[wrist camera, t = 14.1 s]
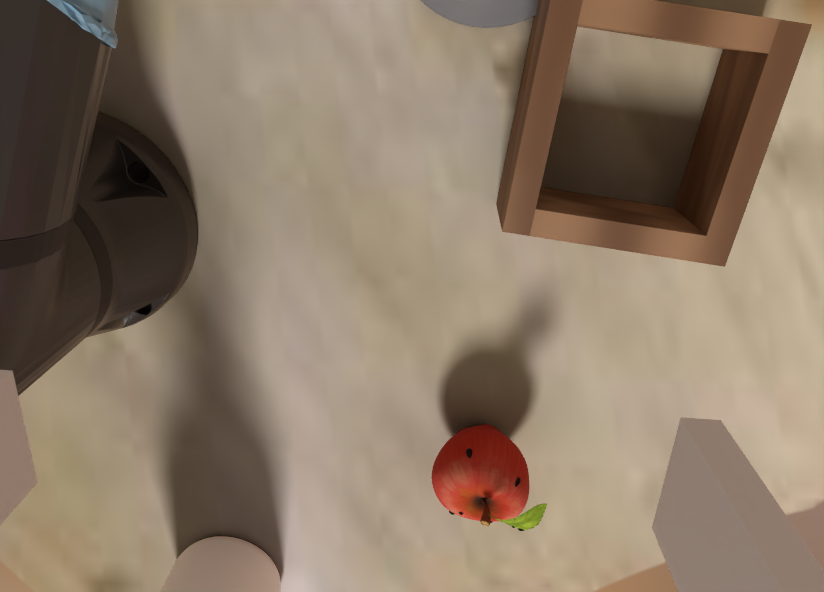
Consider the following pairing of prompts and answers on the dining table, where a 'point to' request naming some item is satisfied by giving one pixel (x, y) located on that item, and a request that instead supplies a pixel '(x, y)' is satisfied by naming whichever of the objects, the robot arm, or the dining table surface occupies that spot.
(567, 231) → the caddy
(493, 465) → the apple
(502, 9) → the coaster
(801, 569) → the robot arm
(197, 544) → the wine bottle
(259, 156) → the dining table surface
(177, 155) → the dining table surface
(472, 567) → the dining table surface
